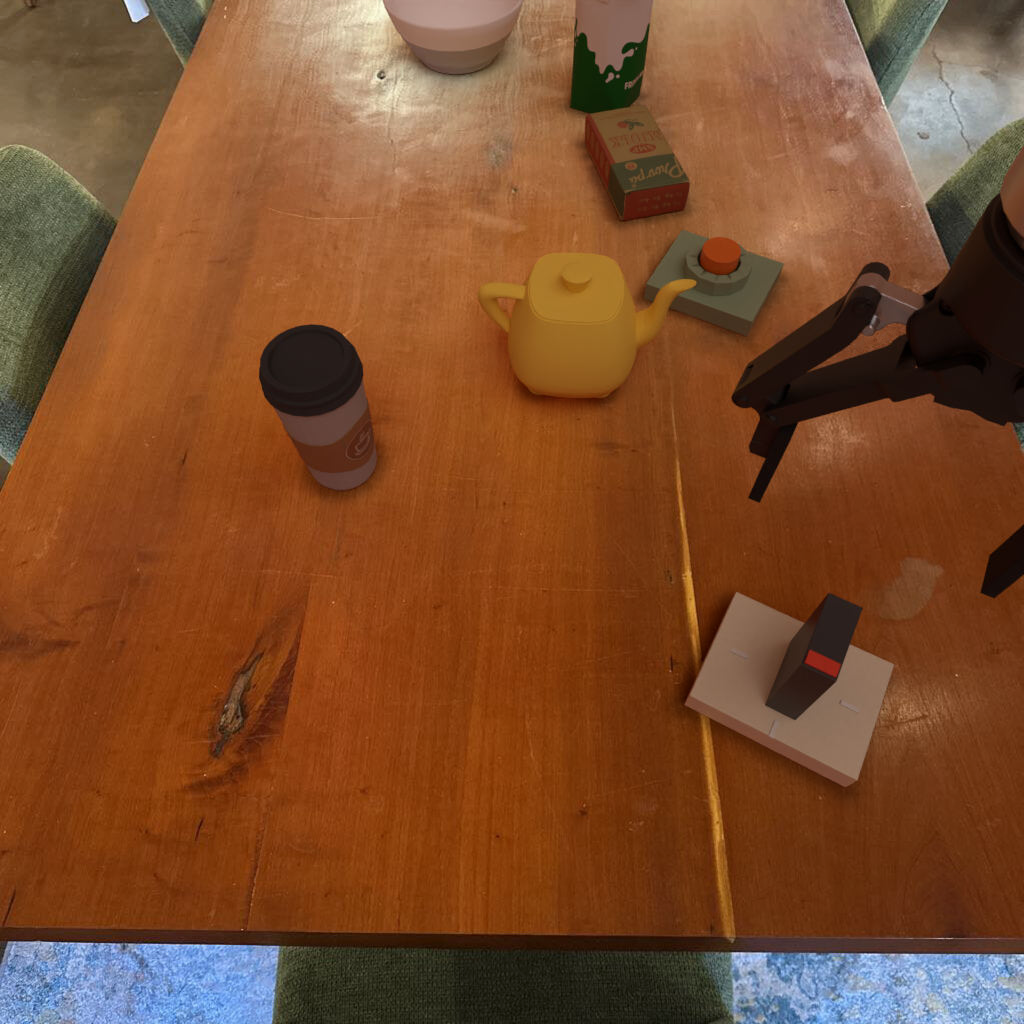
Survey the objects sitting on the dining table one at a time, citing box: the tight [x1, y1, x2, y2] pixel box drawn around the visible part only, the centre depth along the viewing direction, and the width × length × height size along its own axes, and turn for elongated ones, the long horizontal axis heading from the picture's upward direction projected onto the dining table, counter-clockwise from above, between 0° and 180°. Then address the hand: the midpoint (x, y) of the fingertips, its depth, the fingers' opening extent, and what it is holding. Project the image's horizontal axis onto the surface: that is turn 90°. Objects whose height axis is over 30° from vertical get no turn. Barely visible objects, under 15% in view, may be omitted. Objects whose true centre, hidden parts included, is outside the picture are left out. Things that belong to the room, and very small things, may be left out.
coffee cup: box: [258, 323, 378, 491], centre depth 67 cm, size 8×8×15 cm
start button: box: [700, 236, 741, 275], centre depth 81 cm, size 4×4×2 cm
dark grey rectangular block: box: [765, 592, 863, 720], centre depth 55 cm, size 6×2×9 cm, turn 151°
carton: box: [584, 104, 691, 222], centre depth 93 cm, size 8×16×4 cm, turn 14°
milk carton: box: [569, 0, 654, 114], centre depth 95 cm, size 9×9×20 cm
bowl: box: [382, 0, 524, 75], centre depth 107 cm, size 20×20×8 cm
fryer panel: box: [683, 591, 895, 788], centre depth 60 cm, size 13×10×3 cm
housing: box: [643, 229, 785, 337], centre depth 83 cm, size 12×10×4 cm
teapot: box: [476, 252, 697, 399], centre depth 74 cm, size 13×20×12 cm
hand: (871, 528), depth 45 cm, fingers open, 13 cm apart
